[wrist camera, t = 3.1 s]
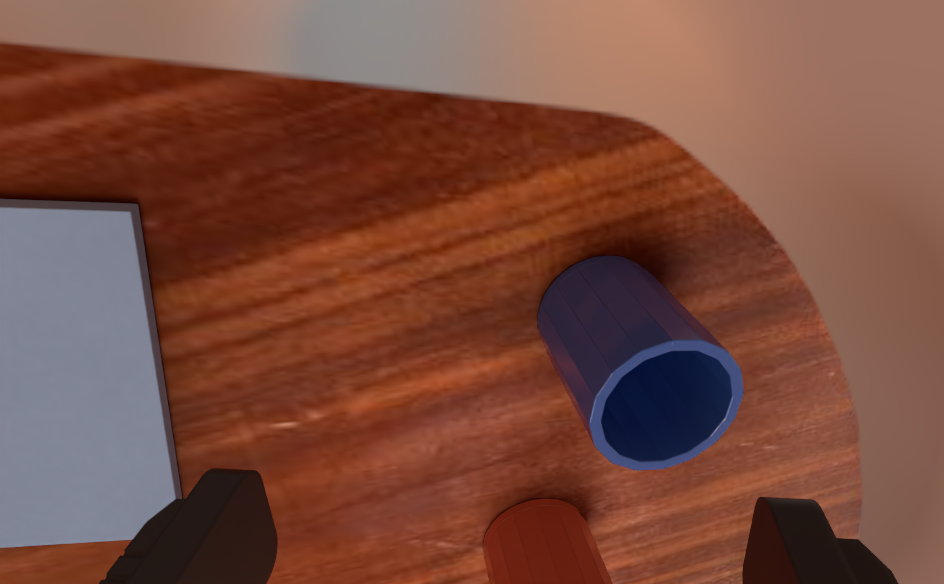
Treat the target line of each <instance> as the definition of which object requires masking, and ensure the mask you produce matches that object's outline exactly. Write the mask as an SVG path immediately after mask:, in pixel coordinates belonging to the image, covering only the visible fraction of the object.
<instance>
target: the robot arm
mask: <svg viewBox="0 0 944 584" xmlns="http://www.w3.org/2000/svg"><path fill="white" fill-rule="evenodd" d="M276 554H277V533H276V529H275V525H274V522H273V518H272V514H271V511H270V507H269V503H268V500H267V496H266V492H265V488H264V485H263V481H262V478H261V476H260V474H259V473H258V472H257V471H255V470H239V469H219V468H213V469H210V470H208V471H207V472H206V473H205V474H204V475H203V476H202V477H201V479H200V480H199V481H198V483H197V484H196V486H195V487H194V488H193V490H192V491H191V492H190V494H189V495H188V497H187V498H186V499H175V500H174V501H172V502H171V503H170V504H168V505H167V506H166V507H165V508H163V509H162V510H161V511H160V512H158V513H157V514H156V515H154V516H153V517H152V518H151V519H149V520H148V521H147V522H146V523H145V524H144V525H143V527H142V528H141V529H140V531H139V532H138V533H137V535H136V536H135V537H134V539H133V540H132V541H131V542H130V544H129V545H128V546H127V548H126V549H125V553H124V555H123V556H120V557H119V558H118V559H117V561H116V562H115V563H114V565H113V566H112V567H111V569H110V570H109V571H108V572H107V577H106V579H105V580H101V582H100V583H99V584H266V583H267V581H268V579H269V577H270V575H271V572H272V570H273V567H274V564H275V560H276ZM743 584H898V582H897V580H896V579H895V577H894V575H893V573H892V571H891V570H890V569H888V568H887V567H886V566H885V565H884V564H883V563H882V562H881V561H880V560H879V559H878V558H877V557H876V556H875V555H874V554H873V553H872V552H871V551H870V550H869V549H868V548H867V547H866V546H864V545H863V544H862V543H861V542H860V541H859V540H858V539H841V538H836V537H835V535H834V533H833V531H832V529H831V527H830V525H829V523H828V521H827V519H826V517H825V515H824V513H823V511H822V509H821V507H820V506H819V504H818V503H817V502H816V501H815V500H812V499H791V498H771V497H760V498H758V500H757V502H756V505H755V509H754V514H753V519H752V524H751V529H750V534H749V539H748V544H747V549H746V554H745V559H744V564H743Z"/></svg>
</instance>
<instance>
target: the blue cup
mask: <svg viewBox="0 0 944 584" xmlns="http://www.w3.org/2000/svg"><path fill="white" fill-rule="evenodd" d="M538 330H539V334H540V337H541V339H542V342H543V344H544V347H545V350H546V352H547V354H548V356H549V358H550V359H551V361H552V363H553V365H554V367H555V369H556V371H557V373H558V375H559V377H560V379H561V381H562V383H563V385H564V387H565V389H566V391H567V393H568V395H569V397H570V399H571V401H572V403H573V405H574V407H575V409H576V410H577V412H578V414H579V416H580V418H581V420H582V422H583V424H584V426H585V428H586V430H587V432H588V434H589V436H590V438H591V440H592V442H593V444H594V446H595V447H596V448H597V449H598V450H599V451H600V452H601V453H602V454H603V455H604V456H605V457H606V458H607V459H608V460H609V461H610V462H612V463H613V464H617V465H620V466H623V467H626V468H629V469H632V470H658V469H665V468H668V467H671V466H674V465H677V464H680V463H682V462H685V461H688V460H690V459H692V458H694V457H695V456H697V455H698V454H700V453H701V452H703V451H704V450H706V449H707V448H708V447H710V446H711V445H713V444H714V443H715V442H716V441H718V439H719V438H720V437H721V436H722V434H723V433H724V432H725V431H726V429H727V428H728V427H729V426H730V424H731V423H732V422H733V421H734V419H735V417H736V414H737V412H738V409H739V406H740V403H741V400H742V398H743V394H744V391H743V381H742V371H741V368H740V367H739V366H738V364H737V363H736V361H735V360H734V359H733V357H732V356H731V355H730V353H729V352H728V351H727V350H726V349H725V348H724V347H723V346H722V345H721V344H720V343H719V342H718V341H717V340H716V339H715V338H714V337H713V336H712V335H711V334H710V333H709V332H708V331H707V330H706V329H705V328H704V327H703V326H702V325H701V324H700V323H699V321H698V320H697V319H696V318H695V317H694V316H693V315H692V314H691V313H690V312H689V311H688V310H687V309H686V308H685V307H684V306H683V305H682V304H681V303H680V302H679V301H678V300H677V299H676V298H675V297H674V296H673V295H672V294H671V293H670V292H669V291H668V290H667V289H666V288H665V287H664V286H663V285H662V284H661V283H660V282H659V281H658V280H657V279H656V278H655V277H654V276H653V275H652V274H651V273H650V272H649V271H648V270H646V269H645V268H643V267H642V266H641V265H640V264H638V263H636V262H634V261H632V260H630V259H627V258H624V257H619V256H599V257H593V258H590V259H586V260H584V261H581V262H579V263H577V264H575V265H573V266H571V267H570V268H568V269H567V270H566V271H564V272H563V273H562V274H561V275H560V276H558V277H557V278H556V279H555V281H554V282H553V283H552V284H551V285H550V287H549V288H548V290H547V291H546V293H545V295H544V297H543V299H542V302H541V304H540V308H539V312H538Z"/></svg>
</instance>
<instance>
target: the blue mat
mask: <svg viewBox="0 0 944 584" xmlns="http://www.w3.org/2000/svg"><path fill="white" fill-rule="evenodd" d="M175 499H182V493H181V486H180V480H179V473H178V466H177V460H176V453H175V446H174V440H173V433H172V426H171V420H170V413H169V407H168V400H167V393H166V387H165V380H164V373H163V367H162V360H161V353H160V347H159V340H158V333H157V327H156V320H155V313H154V307H153V300H152V293H151V287H150V280H149V274H148V267H147V260H146V254H145V247H144V240H143V234H142V227H141V220H140V214H139V207H138V204H129V203H100V202H72V201H44V200H16V199H0V548H3V547H19V546H35V545H52V544H68V543H84V542H100V541H116V540H133V539H134V537H135V536H136V535H137V533H138V532H139V531H140V529H141V528H142V527H143V525H144V524H145V523H146V522H147V521H148V520H149V519H151V518H152V517H153V516H154V515H156V514H157V513H158V512H160V511H161V510H162V509H163V508H165V507H166V506H167V505H168V504H170V503H171V502H172V501H174V500H175Z"/></svg>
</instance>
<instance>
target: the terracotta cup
mask: <svg viewBox="0 0 944 584" xmlns="http://www.w3.org/2000/svg"><path fill="white" fill-rule="evenodd" d="M483 550H484V559H485V564H486V568H487V573H488V577H489V582H490V584H612V581H611V579H610V576H609V574H608V572H607V569H606V567H605V565H604V562H603V560H602V558H601V555H600V553H599V551H598V548H597V546H596V543H595V541H594V539H593V536H592V534H591V532H590V529H589V527H588V525H587V522H586V521H585V519H584V517H583V515H582V514H581V512H580V511H579V510H578V509H577V508H576V507H574V506H573V505H571V504H570V503H568V502H565V501H562V500H558V499H550V498H543V499H534V500H530V501H526V502H523V503H520V504H518V505H515V506H513V507H511V508H509V509H508V510H506V511H505V512H503V513H502V514H501V515H500V516H498V517H497V518H496V519H495V520H494V521H493V523H492V524H491V525H490V527H489V528H488V530H487V532H486V534H485V537H484V541H483Z"/></svg>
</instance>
